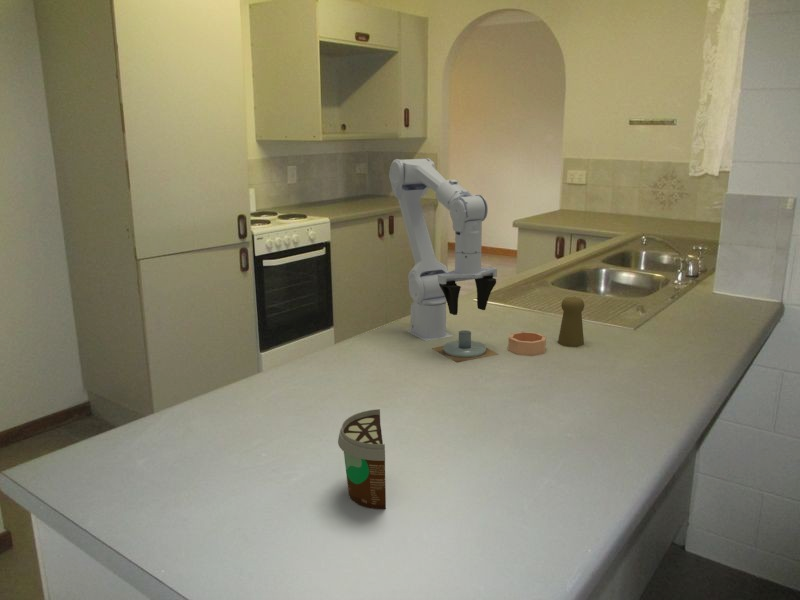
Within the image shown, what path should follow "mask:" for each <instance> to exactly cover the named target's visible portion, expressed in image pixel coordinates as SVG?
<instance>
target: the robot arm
mask: <svg viewBox="0 0 800 600" xmlns="http://www.w3.org/2000/svg"><path fill="white" fill-rule="evenodd" d="M435 165H436V164H435V162H434V161H433V160H432V159H430V158H428V157H423V158H414V159H413V158H411V159H409V158H408V159H406V158H405V159H399V158H396V159H394V160H393V161H392V162H391V164H390V167H389V172H388V177H389V182H390V184H391V185H390V186H391V190H392V193H393V196H394V198H396V199H397V201H398V205H399V207H400V212H401V216H402V220H403V223H404V228H405V231H406V234H407V238H408V242H409V246H410V250H411V253H412V254H411V255H412V257H413V261H414V266H413V267H412V269H411V270H409V273H408V275H407V279H408V291H409V292H408V293H409V295H410V298H411V299H412V301H413V302H412V303H411V305H410V310H409V311H410V312H409V313H410V329H409V330H407V332H408V333H410V334H411V335H413V336H415V337H416V338H417V337H418V339H421V340H423V341H425V342H429V341H434V340H440V339H444V338H450V337H454V335H453V334H451V333H449V332H447V308H448V310H449V314H450V315H453V316H457V315H458V310H459V295H460V292H461V288H462V286H461V285H457V283H456V282H464V281H470V280H474V282H475V286H476V303H477V309H478V310H481V311H486V308H487V304H488V301H489V298H490V295H491V294H492V291H493V289H494V287H495V286H496V284H497V279H496V277H498V268H497V267H494V266H488V267H482V239H483V238H482V229H483V225H482V224H483V222H484V221H485V219H486V218H487V216H488V213H489V212H488V209H489V208H488V203H487V200H486V199H485V197H484V196H483V195H482V194H471V193H470V192H469V190H468V189H465V188H464V187H463V186H461V185H460V184H459V182H458V180H457V179H446V178H444V176H443V175H442V174H441V173H440V172H439V171H437V169H436V166H435ZM429 189H430V190H432V191H433V192H435V198H436V200H437V201H438V202H439V203H440V204H441V205H442V206H443V207H444V208H446V209H447V210H448V211H449V215H450V218H451V222H452V229H453V231H454V235H455V239H454V241H455V243H454V270H451V271H448V268H447V265H445V264H443V263H442V262H440V261H438V260H437V258H436V254H435V251H434V247H433V243H432V239H431V236H430V232H429V229H428V226H427V221H426V218H425V215H424V214H425V213H424V211H423V207H422V204H421V203H422V202H421V199H422V197H424V196H426V195H427V193H428V191H429Z"/></svg>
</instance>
